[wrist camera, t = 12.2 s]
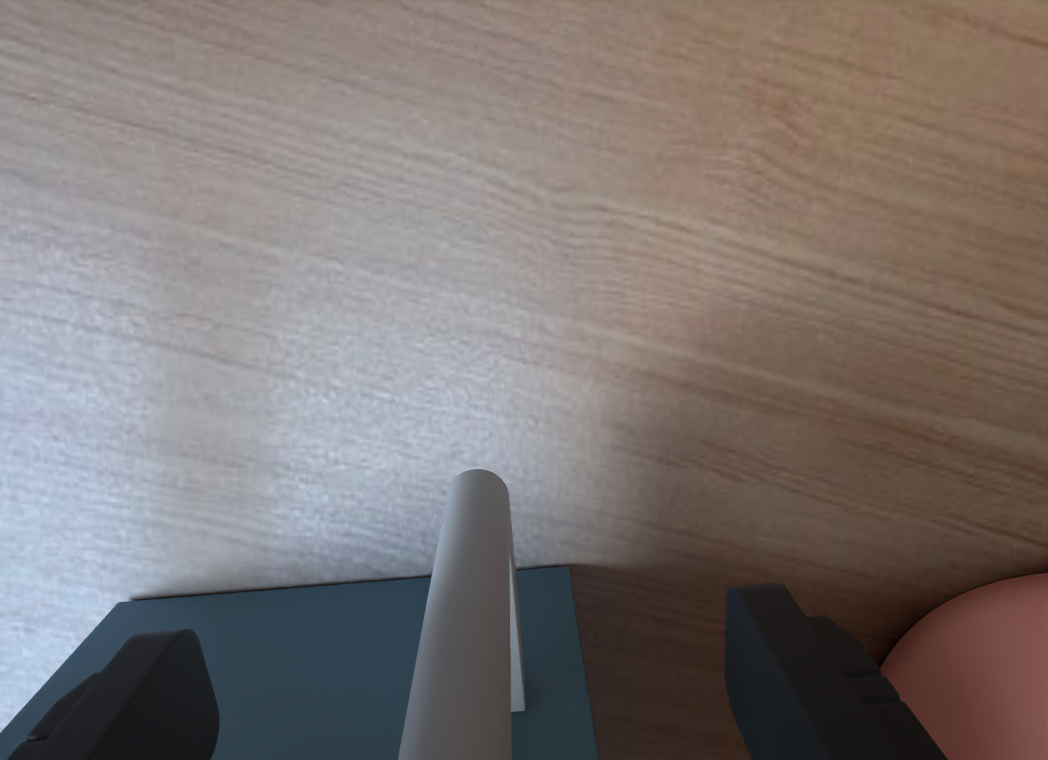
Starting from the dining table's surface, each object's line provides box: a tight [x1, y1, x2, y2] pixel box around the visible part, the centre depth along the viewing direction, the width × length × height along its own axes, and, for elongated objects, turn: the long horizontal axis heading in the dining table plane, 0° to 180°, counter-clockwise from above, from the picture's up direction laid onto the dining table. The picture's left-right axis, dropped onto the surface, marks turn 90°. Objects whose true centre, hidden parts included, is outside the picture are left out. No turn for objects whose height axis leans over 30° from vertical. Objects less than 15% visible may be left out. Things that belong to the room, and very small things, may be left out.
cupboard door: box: [0, 469, 600, 760], centre depth 13 cm, size 7×16×18 cm, turn 94°
